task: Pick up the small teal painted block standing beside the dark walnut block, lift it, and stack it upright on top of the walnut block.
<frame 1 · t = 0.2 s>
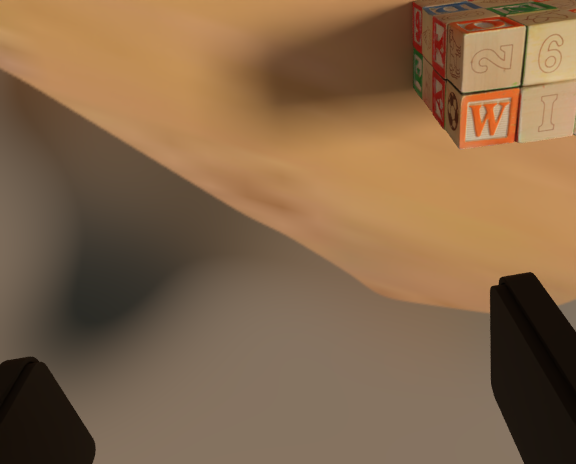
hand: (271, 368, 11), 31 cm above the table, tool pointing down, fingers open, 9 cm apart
stack of blocks: (559, 26, 36), on the table
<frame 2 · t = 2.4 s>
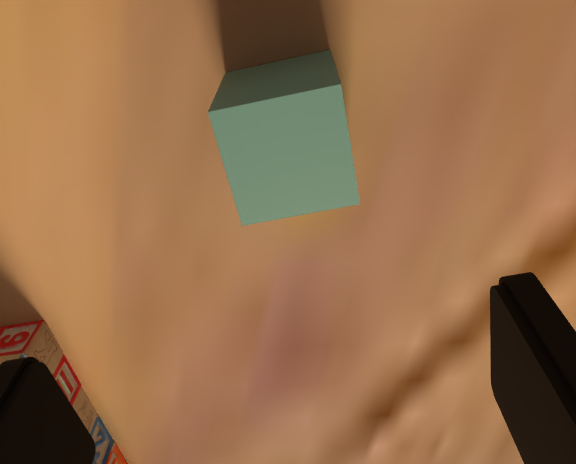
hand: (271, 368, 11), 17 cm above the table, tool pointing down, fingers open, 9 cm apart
stack of blocks: (69, 429, 38), on the table
teal block: (288, 112, 25), on the table
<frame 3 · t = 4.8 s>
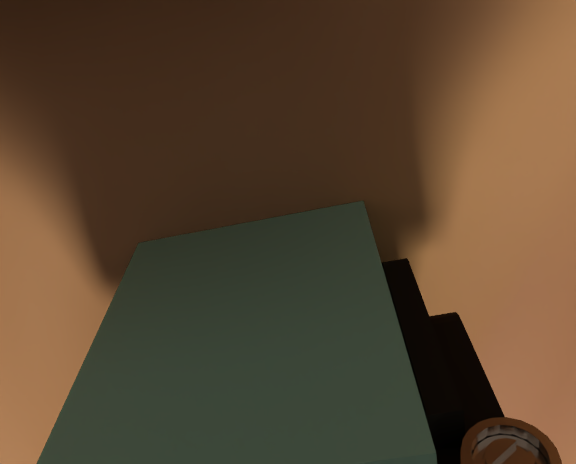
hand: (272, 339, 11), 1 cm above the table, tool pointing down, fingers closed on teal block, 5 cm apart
teal block: (273, 309, 12), on the table, touching gripper
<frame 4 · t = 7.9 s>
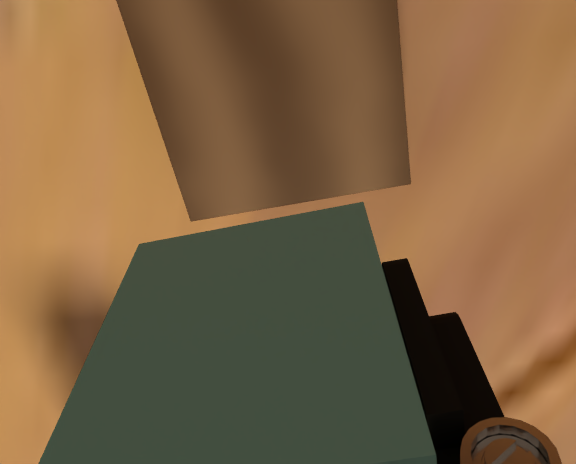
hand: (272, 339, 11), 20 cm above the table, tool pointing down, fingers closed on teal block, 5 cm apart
teal block: (274, 311, 12), point 19 cm above the table, touching gripper
walnut block: (277, 73, 28), on the table
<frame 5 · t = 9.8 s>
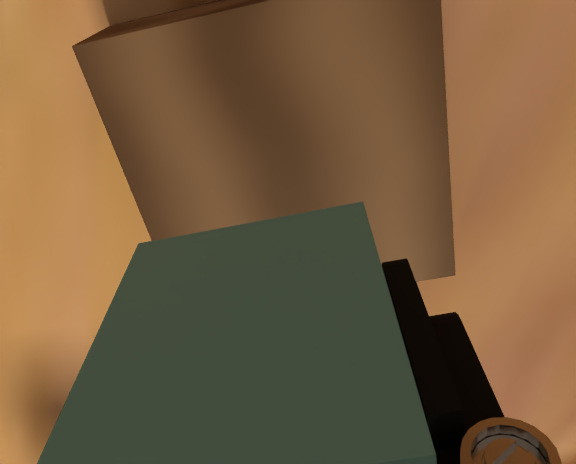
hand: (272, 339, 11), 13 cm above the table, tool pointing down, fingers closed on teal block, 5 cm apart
teal block: (273, 310, 12), point 12 cm above the table, touching gripper
walnut block: (287, 137, 23), on the table
when the fingers open (6 cm above the table, at t = 11.4 s): teal block drops 1 cm, resting on walnut block.
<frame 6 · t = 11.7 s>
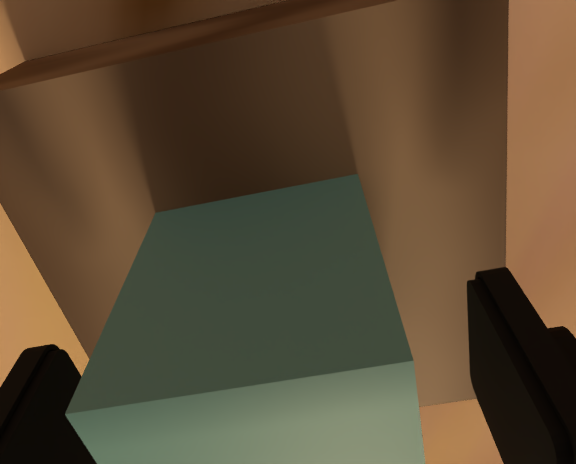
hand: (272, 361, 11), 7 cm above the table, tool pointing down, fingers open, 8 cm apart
teal block: (277, 276, 13), point 4 cm above the table, touching walnut block
walnut block: (276, 204, 17), on the table
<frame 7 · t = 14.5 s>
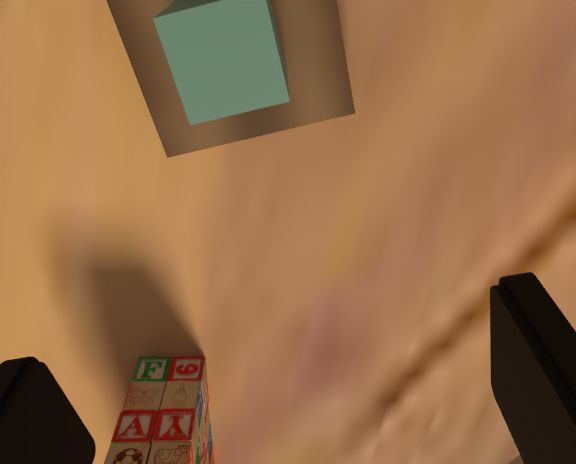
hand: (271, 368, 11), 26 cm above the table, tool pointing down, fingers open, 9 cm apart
stack of blocks: (182, 429, 52), on the table
teal block: (233, 36, 28), point 4 cm above the table, touching walnut block
walnut block: (236, 24, 32), on the table
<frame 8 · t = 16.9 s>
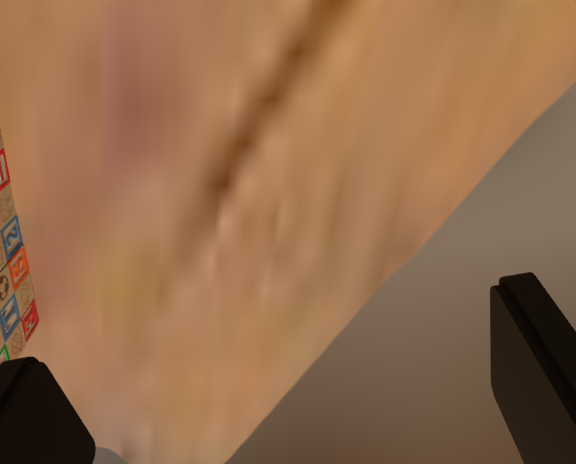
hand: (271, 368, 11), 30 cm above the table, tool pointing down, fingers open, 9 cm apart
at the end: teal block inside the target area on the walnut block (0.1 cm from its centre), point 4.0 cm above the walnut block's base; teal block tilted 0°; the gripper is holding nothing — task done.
